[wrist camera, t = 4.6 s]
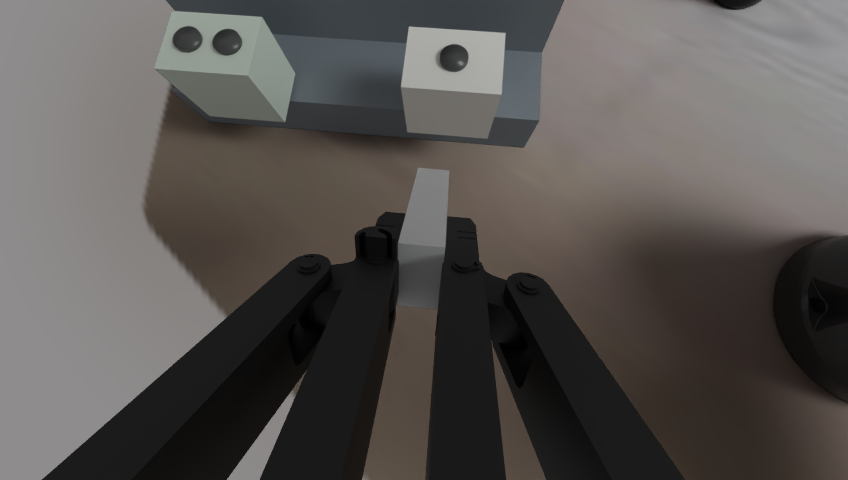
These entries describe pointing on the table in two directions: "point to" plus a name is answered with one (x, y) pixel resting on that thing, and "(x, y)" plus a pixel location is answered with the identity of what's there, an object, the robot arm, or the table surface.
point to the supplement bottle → (737, 3)
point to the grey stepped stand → (388, 59)
